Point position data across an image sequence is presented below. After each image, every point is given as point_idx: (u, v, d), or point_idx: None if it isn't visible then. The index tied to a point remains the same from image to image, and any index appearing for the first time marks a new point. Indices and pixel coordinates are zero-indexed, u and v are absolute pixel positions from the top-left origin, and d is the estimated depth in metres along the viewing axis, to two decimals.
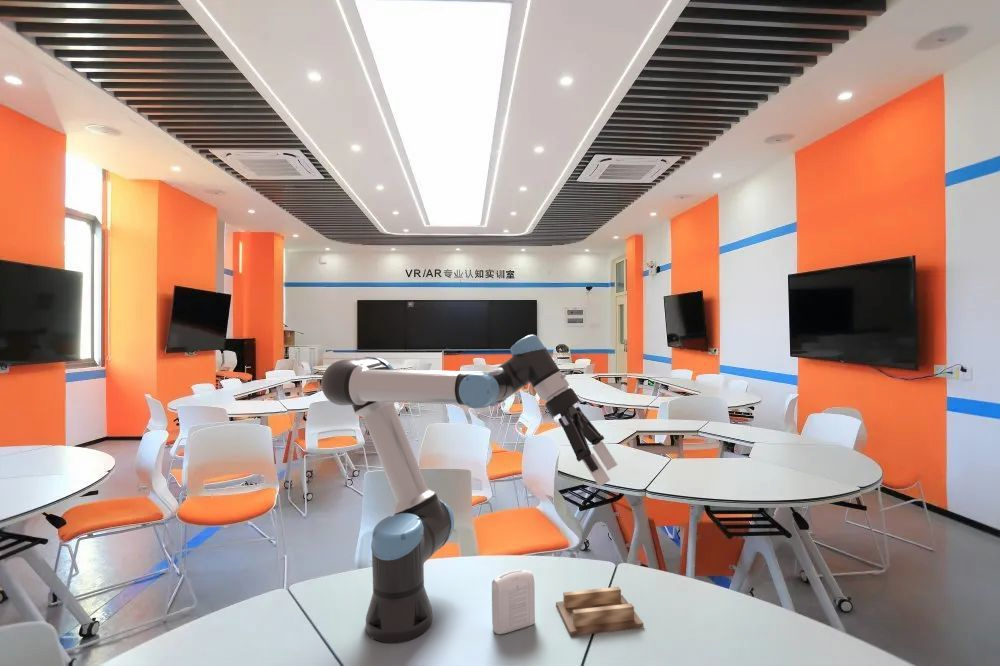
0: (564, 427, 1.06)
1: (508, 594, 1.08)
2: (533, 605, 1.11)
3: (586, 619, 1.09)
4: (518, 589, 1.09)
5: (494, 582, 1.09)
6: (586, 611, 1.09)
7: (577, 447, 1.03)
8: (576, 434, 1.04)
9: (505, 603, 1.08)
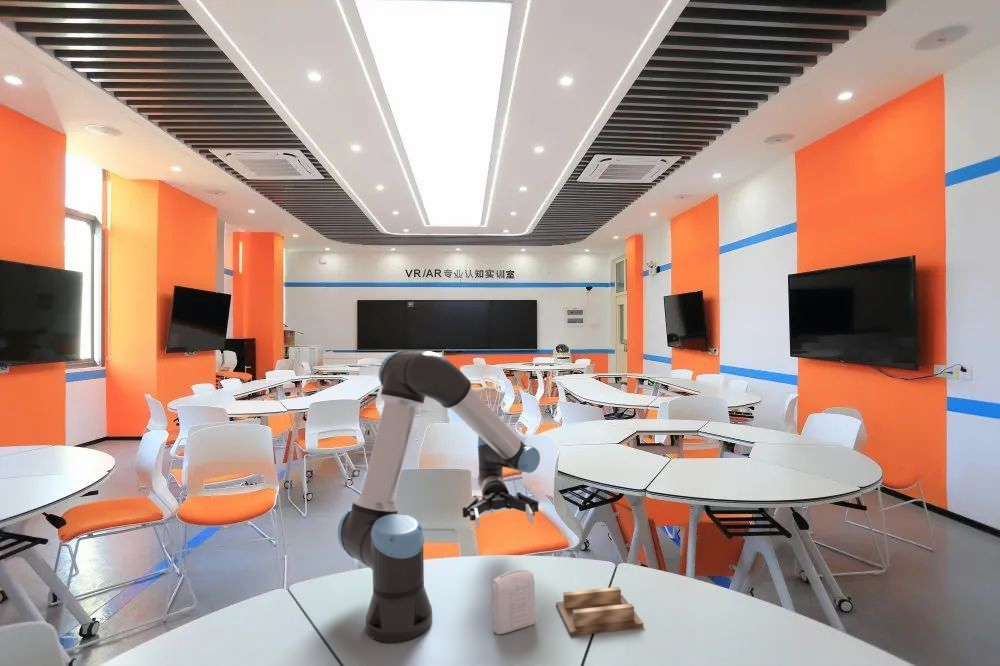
0: None
1: (508, 594, 1.08)
2: (533, 605, 1.11)
3: (586, 619, 1.09)
4: (518, 589, 1.09)
5: (494, 582, 1.09)
6: (586, 611, 1.09)
7: None
8: None
9: (505, 603, 1.08)
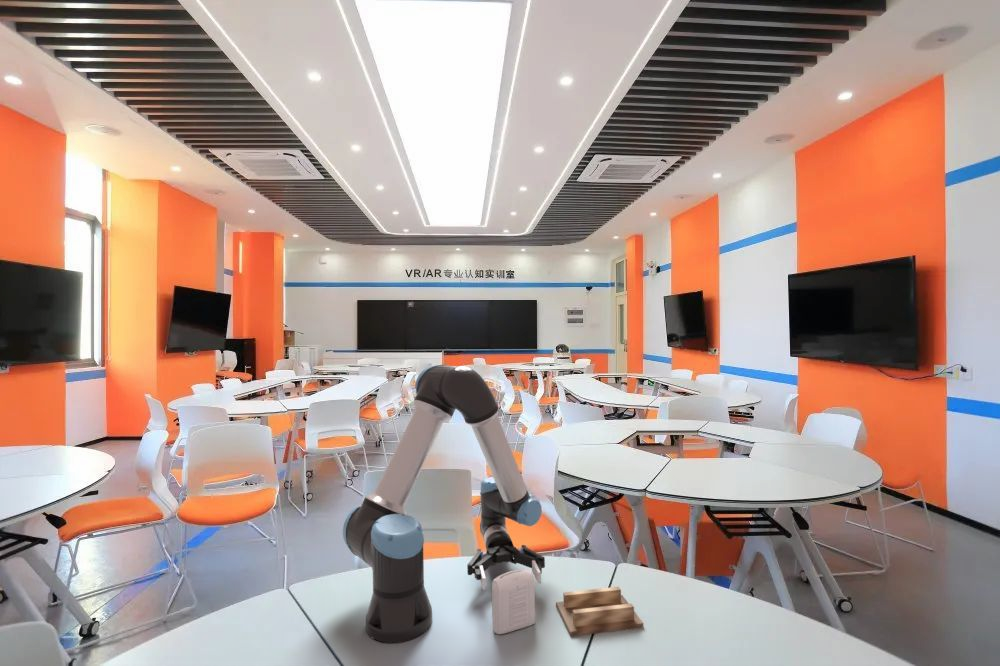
0: None
1: (508, 594, 1.08)
2: (533, 605, 1.11)
3: (586, 619, 1.09)
4: (518, 589, 1.09)
5: (494, 582, 1.09)
6: (586, 611, 1.09)
7: None
8: None
9: (506, 603, 1.08)
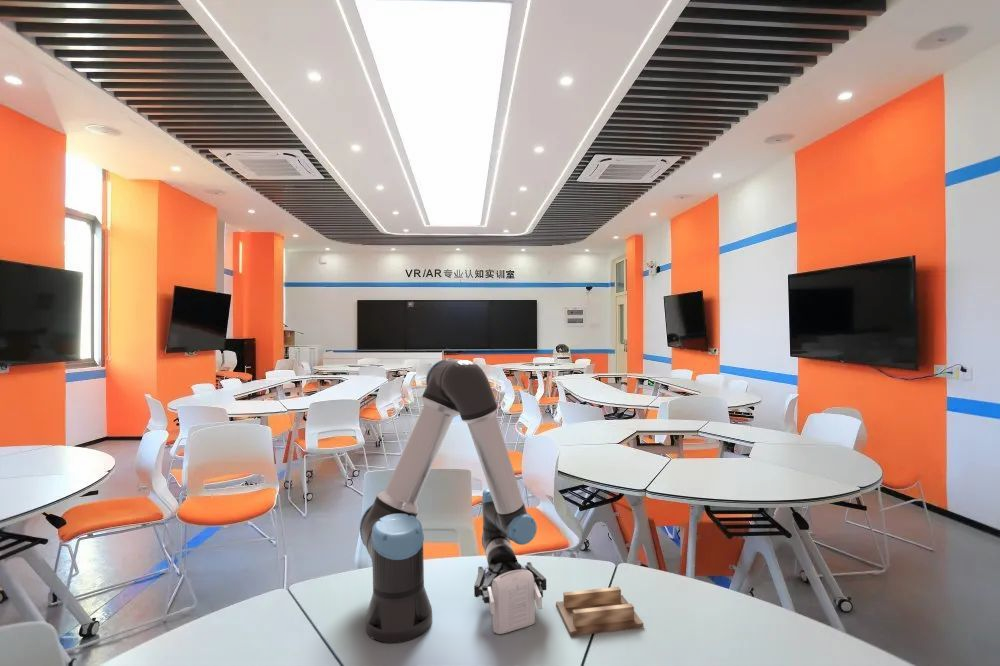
0: None
1: (508, 594, 1.08)
2: (533, 605, 1.11)
3: (586, 619, 1.09)
4: (518, 589, 1.09)
5: (494, 582, 1.09)
6: (586, 611, 1.09)
7: None
8: None
9: (505, 603, 1.08)
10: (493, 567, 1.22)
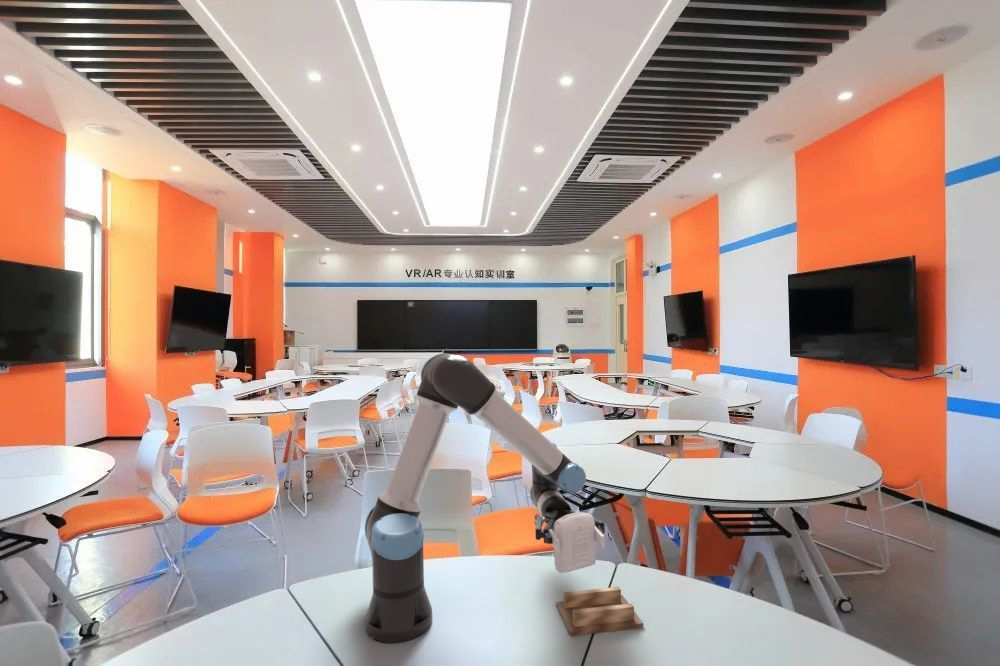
0: None
1: (571, 534, 1.11)
2: (594, 546, 1.14)
3: (586, 619, 1.09)
4: (580, 529, 1.12)
5: (557, 523, 1.12)
6: (586, 611, 1.09)
7: None
8: None
9: (569, 542, 1.11)
10: (549, 514, 1.25)
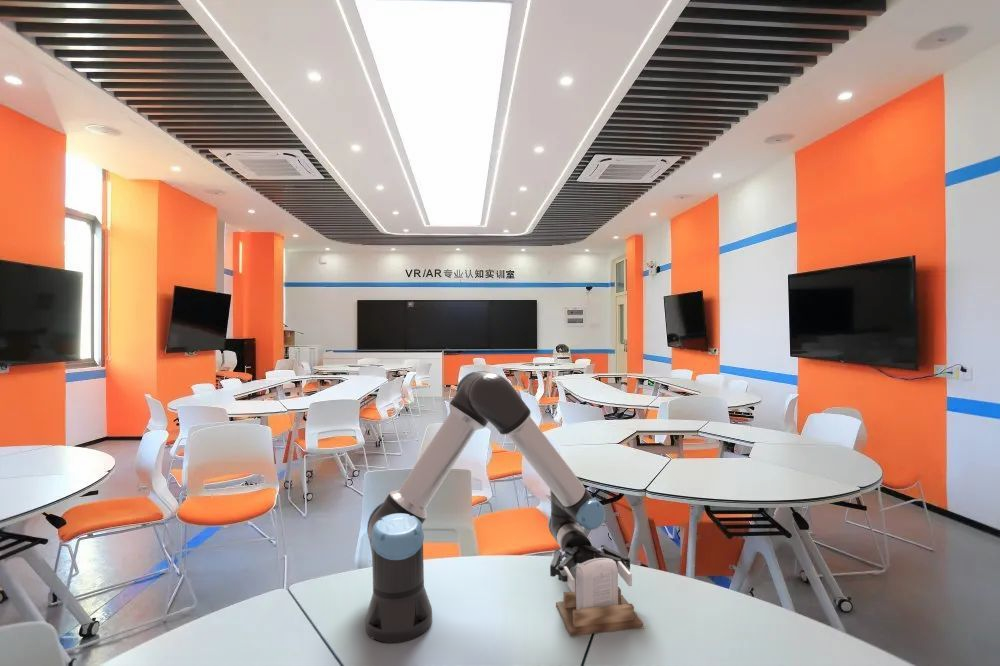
0: None
1: (592, 581, 1.11)
2: (616, 593, 1.14)
3: (586, 619, 1.09)
4: (602, 576, 1.12)
5: (578, 568, 1.13)
6: (586, 611, 1.09)
7: None
8: None
9: (590, 589, 1.11)
10: (569, 550, 1.25)
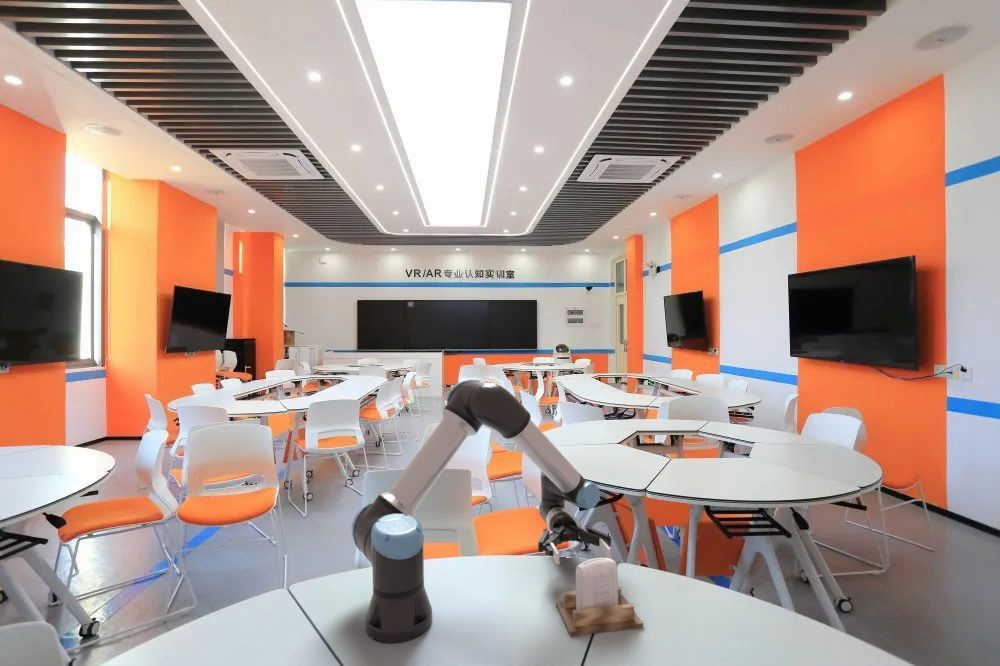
0: None
1: (592, 581, 1.11)
2: (616, 593, 1.14)
3: (586, 619, 1.09)
4: (602, 576, 1.12)
5: (578, 568, 1.13)
6: (586, 611, 1.09)
7: None
8: None
9: (590, 589, 1.11)
10: (556, 530, 1.38)
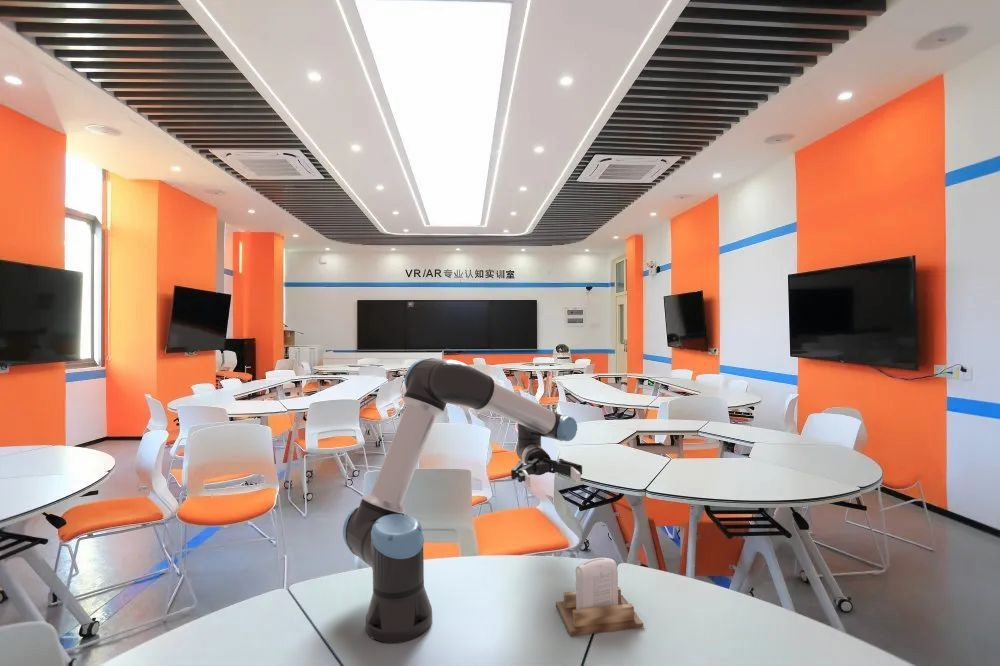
0: None
1: (592, 581, 1.11)
2: (616, 593, 1.14)
3: (586, 619, 1.09)
4: (602, 576, 1.12)
5: (578, 568, 1.13)
6: (586, 611, 1.09)
7: None
8: None
9: (590, 589, 1.11)
10: (530, 462, 1.42)
